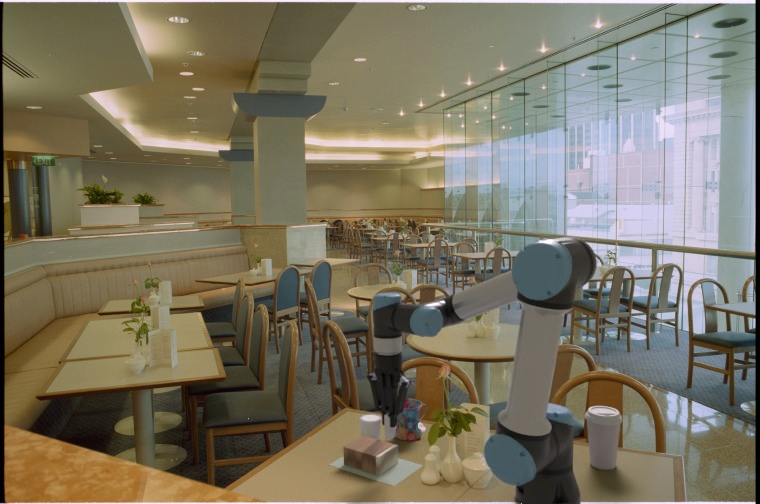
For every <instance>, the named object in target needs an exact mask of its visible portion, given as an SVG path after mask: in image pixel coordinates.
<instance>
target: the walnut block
mask: <svg viewBox="0 0 760 504" xmlns="http://www.w3.org/2000/svg"><path fill="white" fill-rule="evenodd" d="M343 456H344V465H348V466H351V467H354V468H357V469H360V470H363V471H367V472H370V473H373V474H376V475H381V474H382V473H384V472H385V471H387V470H388V469H390V468H391V467H393V466H394V465H396V464H397V463H398V458H399V445H398V444H396V443H395V444H394V443H391V442H388V441H384V440H380V439H379V440H377V439H373V438H370V437H366V436H362V437H361V436H359V438H357V439H354V440H352V441H351V442H349V443H347V444H346V445H344V446H343Z"/></svg>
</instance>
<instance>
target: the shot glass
mask: <svg viewBox="0 0 760 504" xmlns="http://www.w3.org/2000/svg"><path fill="white" fill-rule="evenodd" d="M358 419H359V420H358V421H359V422H358V423H359V430H360V437H362V436H366V437H370V438H373V439H377V440H380V439H381V433H382V415H380V414H376V413H366V414H363V415H360V416H359V418H358Z"/></svg>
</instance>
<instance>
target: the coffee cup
mask: <svg viewBox="0 0 760 504" xmlns="http://www.w3.org/2000/svg"><path fill="white" fill-rule="evenodd" d="M584 418H585V420H586V426H587V436H588V437H587V438H588V440H587V441H588V451H589V463H590V465H591V467H594V468H595V469H598V470H602V471H603V470H604V471H611V470H613V469H616V466H617V457H618V449H619V448H618V447H619V439H620V431H621V424H622V422H623V416H622V415H621V413H620V411H619V410H618V409H617V408H614V407H610V406H605V405H594V406H590V407H588V409H587V411H586V412H585V414H584Z"/></svg>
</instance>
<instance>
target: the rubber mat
mask: <svg viewBox="0 0 760 504" xmlns="http://www.w3.org/2000/svg"><path fill="white" fill-rule="evenodd" d="M328 466H330V467H333V468H337V469H340V470H342V471H347V472H349V473H352V474H356V475H358V476H360V477H361V476H362V477H364V478H367V479H370V480H372V481H373V480H374V481H377V482H379V483H383V484H385V485H388V486H392V487H395V486H397V485H398V484H400V483H401V482H402V481H404V480H405V479H406V478H408V477H409V476H411V475H412V474H413V473H415V472H416V471H418V470H419V469H421V468H422V467H423V466H424V465H423V464H420V463H416V462H413V461H410V460H406V459H403V458H399V457H398V463H397V464H396V465H394V466H393V467H391V468H390V469H388V470H387V471H385V472H384V473H382V474H381V475H376V474H373V473H370V472H367V471H363V470H360V469H357V468H354V467H351V466H348V465H344V455H343V456H341V457H339V458H337V459H336V460H334V461H333V462H331V463H329V464H328Z"/></svg>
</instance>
